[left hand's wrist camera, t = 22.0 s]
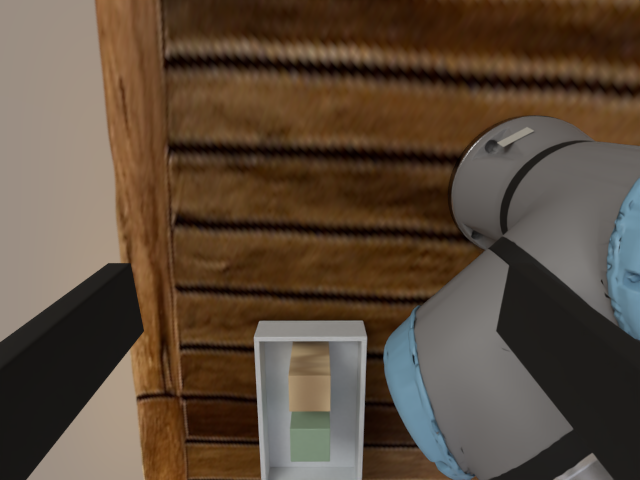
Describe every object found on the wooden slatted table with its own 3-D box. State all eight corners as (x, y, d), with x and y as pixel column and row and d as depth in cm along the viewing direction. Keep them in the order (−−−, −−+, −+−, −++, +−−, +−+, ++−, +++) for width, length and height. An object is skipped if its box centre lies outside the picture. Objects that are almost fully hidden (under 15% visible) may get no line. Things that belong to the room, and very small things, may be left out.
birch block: (328, 336, 46) (330, 375, 38) (328, 367, 47) (330, 411, 39) (293, 336, 46) (288, 375, 38) (294, 367, 47) (289, 411, 39)
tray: (259, 320, 46) (243, 367, 36) (363, 320, 46) (374, 367, 36) (268, 515, 54) (257, 597, 44) (356, 515, 54) (365, 596, 44)
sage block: (328, 382, 47) (330, 429, 40) (328, 411, 48) (330, 461, 41) (294, 382, 47) (289, 429, 40) (295, 411, 48) (290, 462, 41)
